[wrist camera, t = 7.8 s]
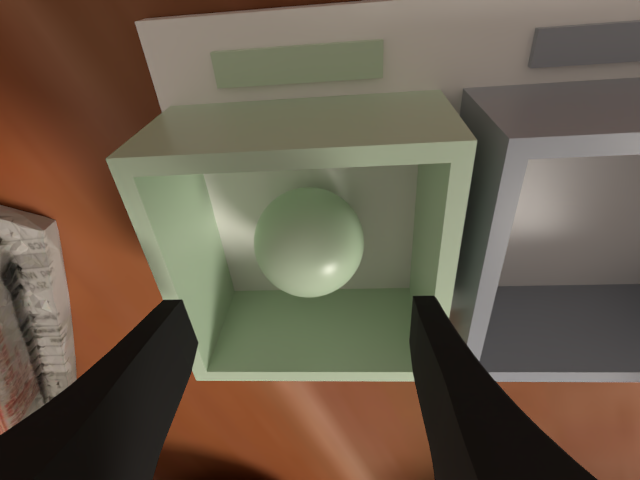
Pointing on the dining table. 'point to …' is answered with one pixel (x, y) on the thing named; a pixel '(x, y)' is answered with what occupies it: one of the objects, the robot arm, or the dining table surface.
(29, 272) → the packaged product
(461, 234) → the two-tone hollow container
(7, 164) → the dining table surface
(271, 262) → the ball
